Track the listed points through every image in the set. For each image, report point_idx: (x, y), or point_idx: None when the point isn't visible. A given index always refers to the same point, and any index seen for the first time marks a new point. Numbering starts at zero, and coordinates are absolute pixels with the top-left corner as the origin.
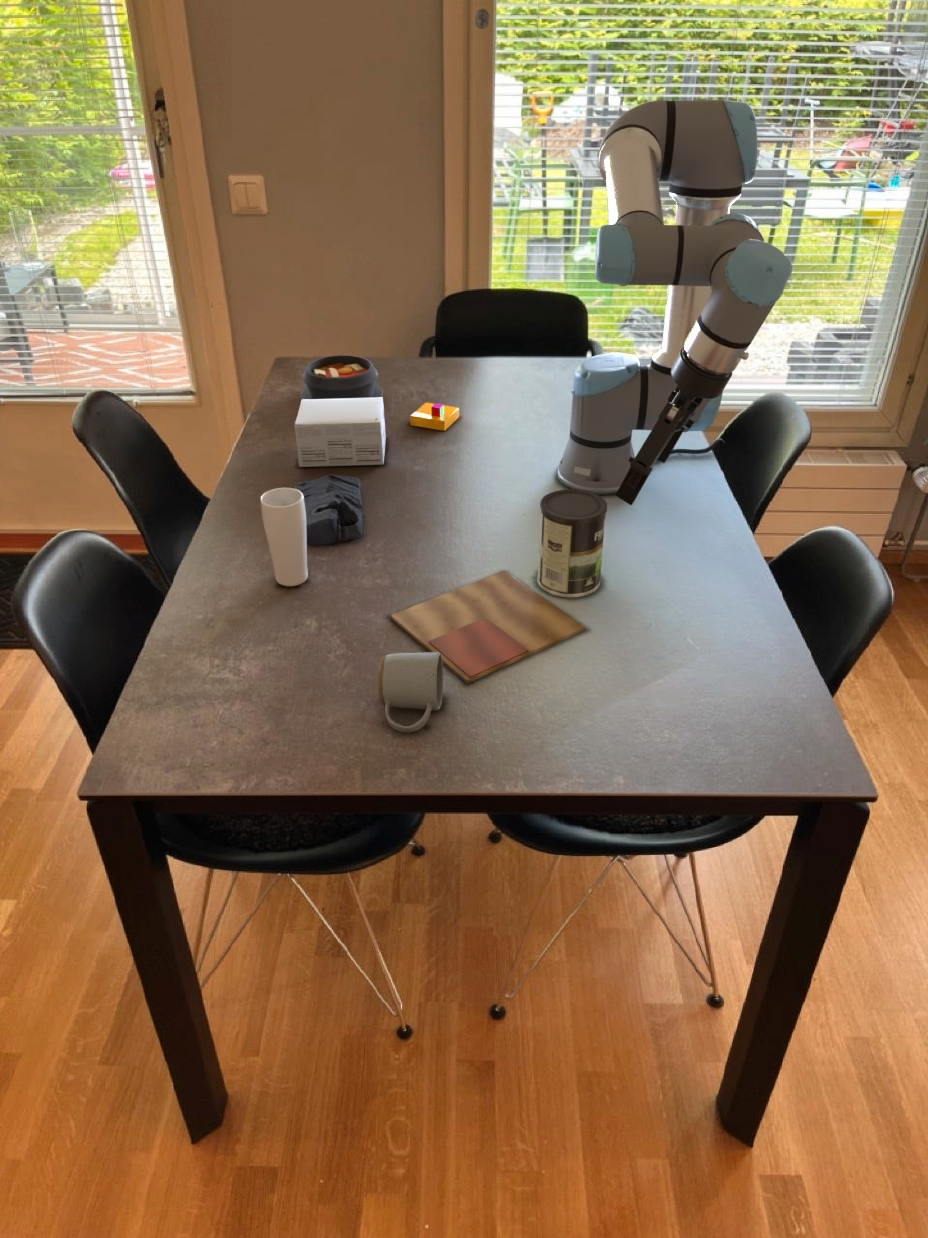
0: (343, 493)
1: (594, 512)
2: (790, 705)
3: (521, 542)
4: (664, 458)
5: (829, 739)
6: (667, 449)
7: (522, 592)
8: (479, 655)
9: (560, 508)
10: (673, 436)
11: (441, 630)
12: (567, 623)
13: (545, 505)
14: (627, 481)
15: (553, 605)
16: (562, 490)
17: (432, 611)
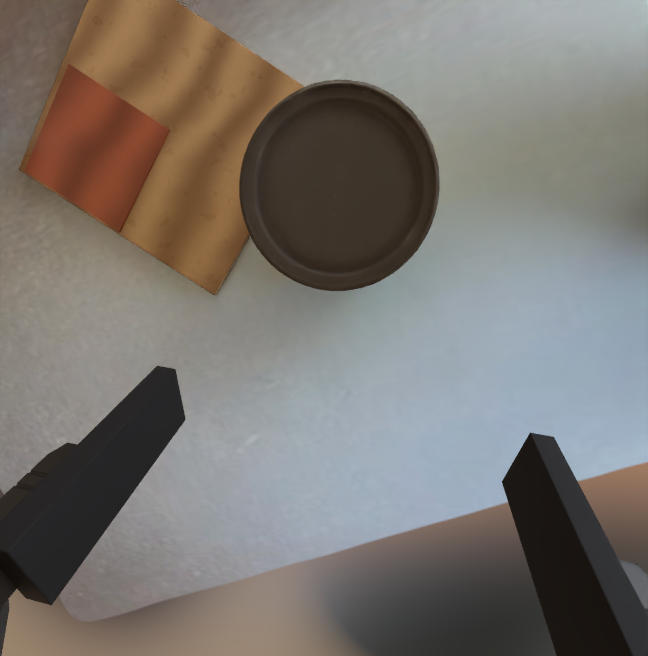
0: None
1: (313, 263)
2: (172, 560)
3: (449, 92)
4: (510, 495)
5: (133, 597)
6: (529, 538)
7: None
8: (73, 163)
9: (300, 160)
10: (567, 636)
11: (107, 71)
12: (211, 265)
13: (297, 108)
14: (46, 457)
15: None
16: (414, 126)
17: (149, 27)
